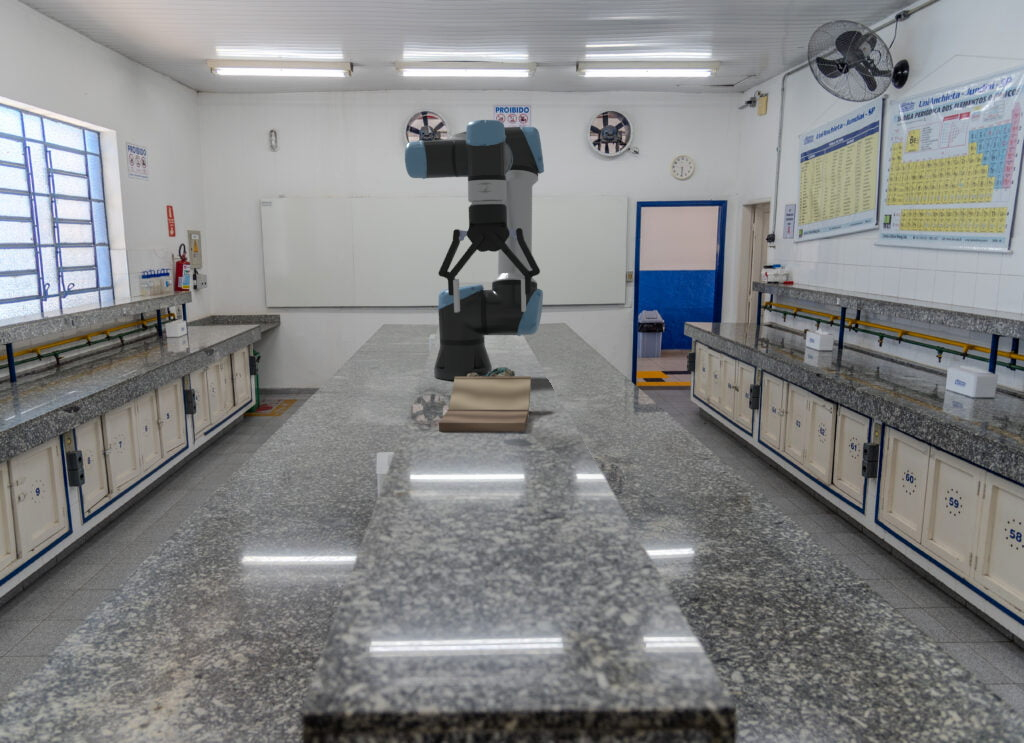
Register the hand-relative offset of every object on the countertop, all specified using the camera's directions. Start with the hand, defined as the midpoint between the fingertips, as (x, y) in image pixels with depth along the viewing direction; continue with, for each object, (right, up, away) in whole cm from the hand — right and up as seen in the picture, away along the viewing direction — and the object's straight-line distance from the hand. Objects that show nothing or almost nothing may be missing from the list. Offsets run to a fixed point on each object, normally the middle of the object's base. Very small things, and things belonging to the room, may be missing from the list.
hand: (490, 311), depth 142 cm
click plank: (0, -18, +2) cm, 18 cm away
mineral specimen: (0, -18, +18) cm, 25 cm away
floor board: (-1, -22, -7) cm, 24 cm away
